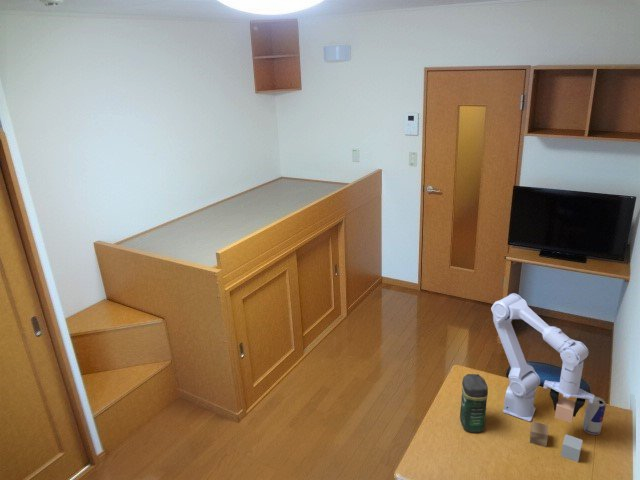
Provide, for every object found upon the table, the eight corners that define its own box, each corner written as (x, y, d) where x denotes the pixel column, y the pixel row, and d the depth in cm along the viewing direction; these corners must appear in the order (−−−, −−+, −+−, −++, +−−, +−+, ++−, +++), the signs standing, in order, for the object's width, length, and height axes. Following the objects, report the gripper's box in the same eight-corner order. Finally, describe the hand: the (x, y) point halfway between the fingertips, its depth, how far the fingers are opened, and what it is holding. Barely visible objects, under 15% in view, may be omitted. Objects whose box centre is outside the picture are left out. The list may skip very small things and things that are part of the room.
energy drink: (602, 436, 162) (608, 407, 157) (585, 434, 163) (590, 406, 158) (597, 424, 167) (602, 396, 162) (580, 423, 168) (585, 395, 163)
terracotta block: (554, 417, 160) (556, 405, 158) (557, 408, 163) (559, 396, 162) (571, 423, 157) (573, 410, 155) (574, 413, 161) (576, 401, 159)
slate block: (560, 456, 155) (562, 444, 153) (563, 446, 159) (565, 434, 157) (578, 462, 152) (580, 450, 151) (580, 452, 156) (582, 440, 154)
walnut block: (529, 443, 161) (531, 431, 159) (530, 432, 165) (532, 421, 163) (546, 447, 159) (548, 435, 157) (546, 436, 163) (548, 425, 161)
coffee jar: (487, 433, 166) (491, 389, 159) (463, 433, 166) (466, 389, 159) (480, 414, 175) (483, 371, 168) (457, 414, 175) (460, 371, 168)
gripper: (543, 377, 156) (538, 411, 160) (594, 392, 148) (587, 427, 153) (548, 365, 161) (543, 398, 166) (597, 379, 153) (591, 414, 158)
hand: (565, 411), depth 160 cm, fingers closed on terracotta block, 5 cm apart
